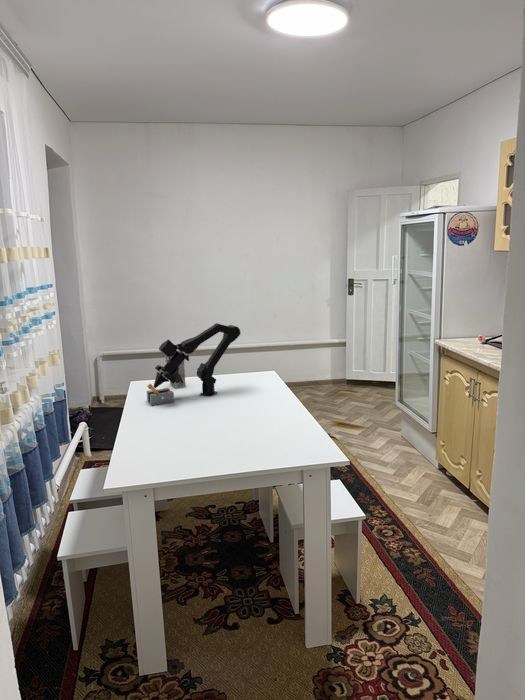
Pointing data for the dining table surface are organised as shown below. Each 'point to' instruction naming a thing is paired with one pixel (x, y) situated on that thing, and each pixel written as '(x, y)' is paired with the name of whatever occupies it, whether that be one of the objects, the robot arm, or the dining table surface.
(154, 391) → the breaker handle
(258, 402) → the dining table surface
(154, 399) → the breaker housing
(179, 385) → the coffee box
